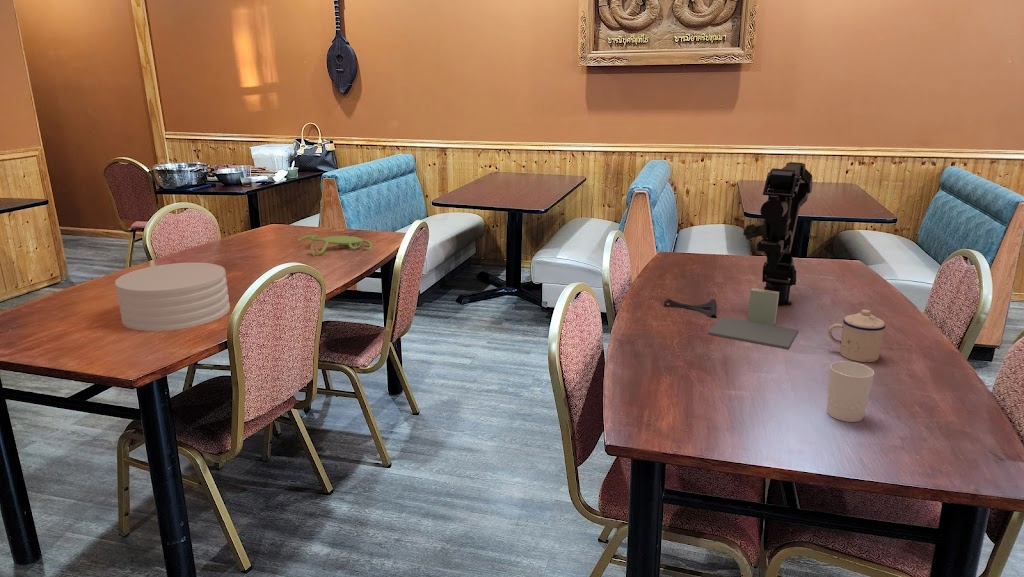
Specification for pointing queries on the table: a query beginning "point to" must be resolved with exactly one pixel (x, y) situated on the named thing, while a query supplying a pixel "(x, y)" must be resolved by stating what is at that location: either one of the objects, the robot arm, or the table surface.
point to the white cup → (848, 390)
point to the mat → (754, 332)
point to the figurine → (337, 242)
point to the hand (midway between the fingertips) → (771, 270)
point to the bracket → (695, 307)
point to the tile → (763, 306)
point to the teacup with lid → (860, 336)
